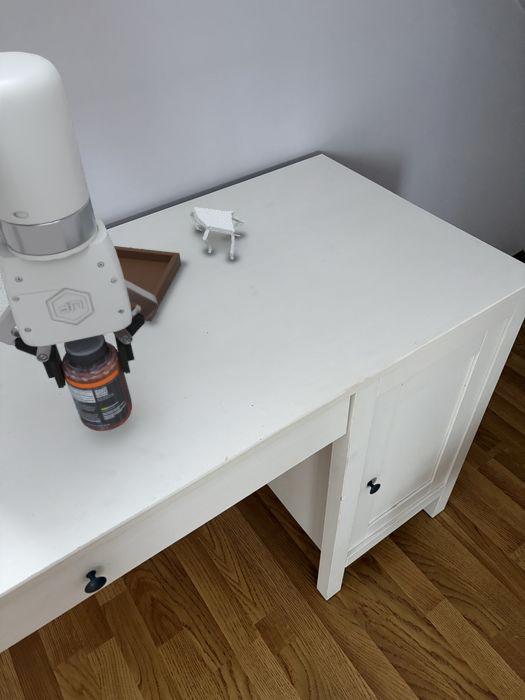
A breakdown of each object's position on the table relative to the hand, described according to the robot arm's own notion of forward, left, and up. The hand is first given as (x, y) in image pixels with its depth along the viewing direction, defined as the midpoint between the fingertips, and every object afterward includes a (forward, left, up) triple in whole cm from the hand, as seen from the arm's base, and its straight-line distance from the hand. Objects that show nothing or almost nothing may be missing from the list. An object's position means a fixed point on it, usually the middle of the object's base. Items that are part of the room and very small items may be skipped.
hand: (93, 370), depth 59 cm
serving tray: (-11, +26, -10) cm, 29 cm away
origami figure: (+1, +40, -10) cm, 41 cm away
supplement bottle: (0, 0, -7) cm, 7 cm away
